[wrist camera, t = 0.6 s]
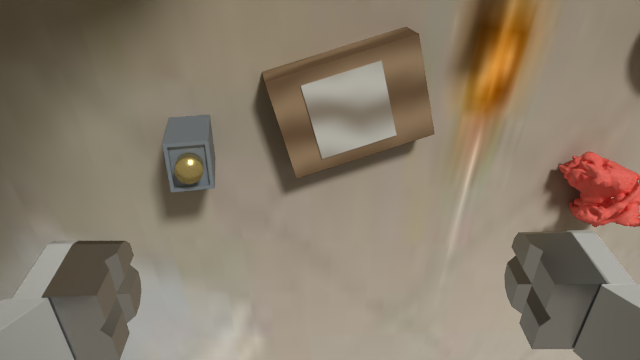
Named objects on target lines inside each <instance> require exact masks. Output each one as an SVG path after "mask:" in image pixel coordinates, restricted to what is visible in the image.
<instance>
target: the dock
mask: <svg viewBox="0 0 640 360" xmlns="http://www.w3.org/2000/svg"><path fill="white" fill-rule="evenodd" d="M262 74H263V78H264V81H265V85H266V88H267V91H268V94H269V97H270V100H271V103H272V106H273V109H274V112H275V115H276V118H277V121H278V124H279V127H280V130H281V133H282V136H283V139H284V142H285V145H286V148H287V151H288V154H289V157H290V160H291V163H292V166H293V169H294V172H295V175H296V178H300V177H303V176H306V175H309V174H312V173H315V172H319V171H322V170H325V169H328V168H331V167H334V166H337V165H340V164H343V163H347V162H350V161H353V160H356V159H359V158H362V157H365V156H368V155H371V154H374V153H378V152H381V151H384V150H387V149H390V148H393V147H396V146H399V145H402V144H405V143H409V142H412V141H415V140H418V139H421V138H424V137H427V136H430V135H433V134H434V127H433V121H432V115H431V108H430V102H429V95H428V89H427V83H426V76H425V70H424V64H423V57H422V51H421V45H420V38H419V34H418V33H416V32H414V31H413V30H411V29H409V28H408V27H404V28H401V29H398V30H395V31H391V32H388V33H385V34H382V35H379V36H375V37H372V38H369V39H366V40H363V41H360V42H356V43H353V44H350V45H347V46H344V47H340V48H337V49H334V50H331V51H328V52H325V53H321V54H318V55H315V56H312V57H309V58H305V59H302V60H299V61H296V62H293V63H290V64H286V65H283V66H280V67H277V68H274V69H270V70H267V71H264V72H262Z"/></svg>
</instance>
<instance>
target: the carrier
mask: <svg viewBox="0 0 640 360" xmlns="http://www.w3.org/2000/svg"><path fill="white" fill-rule="evenodd" d="M162 146H163V152H164V157H165V163H166V168H167V174H168V179H169V185H170V190H171V192H181V191H191V190H202V189H212V188H215V152H214V145H213V137H212V129H211V121H210V115H199V116H186V117H172V118H169V120H168V124H167V127H166V131H165V135H164V139H163V143H162ZM189 152H190V153H195V154H197V155H198V156H199V157H200V158H201V159H202V161H203V175H202V177H201V179H200V180H199V181H198V182H196V183H193V184H185V183H182V182H180V181H179V180H178V179H177V178H176V176H175V173H174V169H175V163H176V160H177V158H178V157H179V156H180V155H181V154H183V153H189Z"/></svg>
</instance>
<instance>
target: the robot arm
mask: <svg viewBox="0 0 640 360" xmlns="http://www.w3.org/2000/svg"><path fill="white" fill-rule="evenodd" d="M512 249H513V251H514V253H515V254H516V256H515V257H514V258H512V259H511V260H510V261H509V262H508V263H507V266H506V271H505V289H506V293H507V297H508V299H509V302H510V304H511V306H512V307H513V308H515V309H516V310H517V311H519V312H520V313H522V316H521V319H520V325H521V327H522V330H523V332H524V334H525V336H526V338H527V340H528V342H529V344H530V346H531V348H532V349H574V350H573V351H574V352H575V353H576V354H577V355H578V356H579V357H581V358H582V359H583V360H640V284H636V283H635V282H634V281H633V279H632V278H631V277H630V276H629V274H628V273H627V272H626V271H625V269H624V268H623V267H622V266H621V264H620V263H619V262H618V260H617V259H616V258H615V257H614V255H613V254H612V253H611V252H610V250H609V249H608V248H607V247H606V245H605V244H604V243H603V242H602V240H601V239H600V238H599V236H598V235H597V234H596V233H595V232H593V231H591V230H569V231H555V232H518V234H517V235H516V236H515V238H514V241H513V244H512ZM133 256H134V255H133V252H132V249H131V245H130V243H128V242H127V241H53V242H51V243H50V244H48V245H47V246H46V247H45V249H44V250H43V252H42V253H41V255H40V256H39V258H38V259H37V261H36V262H35V264H34V265H33V267H32V268H31V270H30V271H29V273H28V274H27V276H26V277H25V279H24V280H23V282H22V283H21V285H20V286H19V288H18V289H17V291H16V293H15V294H14V296H13V297H12V299H3V300H1V301H0V360H120V358H121V355H122V352H123V350H124V347H125V344H126V341H127V339H128V336H129V329H128V326H127V323H128V322H129V321H130V320H131V319H132V318H134V317H135V316H136V314H137V311H138V308H139V305H140V298H141V281H140V277H139V273H138V271H137V270H136V269H135V268H133V267H132V266H131V265H130V263H131V261H132V258H133Z"/></svg>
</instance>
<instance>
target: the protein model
mask: <svg viewBox="0 0 640 360" xmlns="http://www.w3.org/2000/svg"><path fill="white" fill-rule="evenodd" d="M572 158H573V160H572V161H570V162H569V163H564V166H563V165H559V166H558V167H559V169H560V171H561V172H562V173H564V178H565V179H567V182H568V183H569V184H570V186H573V187H574V188H576V189H577V190H579V191H580V192H581V193H580V196H581V197H579V198H576V199H575V200H574V203H575V204H577V205H574V204H573V202H570V203H569V208H570V210H571V212H572V215H573V216H576V218H577V219H579V220H581V221H583V222H586V223H589V224H592V226H594V227H597V226H599V225H605V224H607V223H609V222H615V223H616V224H621V225H624V226H633V227H636V226H640V218H637V217H639V216H640V214H639V212H638V210H639V207H638V206H639V205H640V176H639V175H638V174H637V173H635V172H633V171H631V170H629V169H627V168H625V167H622V166H621V165H619V164H617V163H616V162H613V161H610V160H608V159H605V158H602V157H600V156H599V155H597V154H595V153H592V152H586V153H585V154H583V155H582V156H581V157H576V156H573V157H572ZM638 179H639V184H638V182H637V180H638ZM611 197H614V198H612V199H611Z"/></svg>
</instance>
